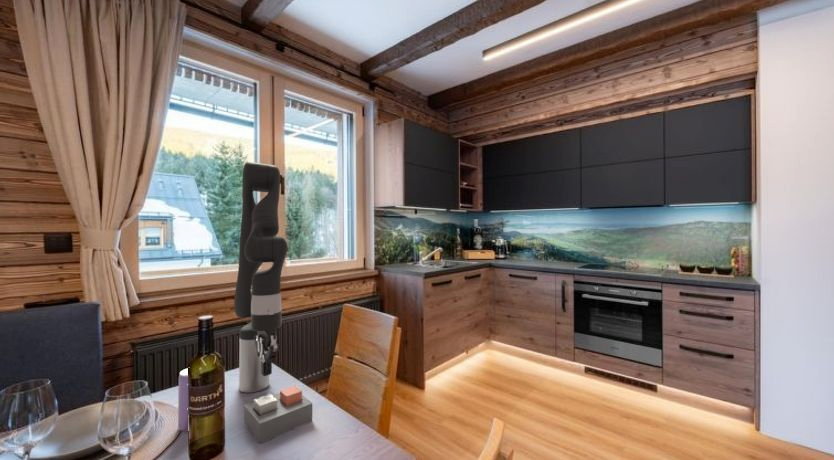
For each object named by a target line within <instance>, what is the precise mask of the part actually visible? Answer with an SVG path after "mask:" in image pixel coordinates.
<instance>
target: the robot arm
mask: <svg viewBox="0 0 834 460" xmlns="http://www.w3.org/2000/svg"><path fill="white" fill-rule="evenodd" d="M241 177H242V178H241V179H242V180H241V183H242V187H241V188H242V192H241V193H242V197H241V198H242V202H241V203H242V205H241V206H242V211H241V224H240V232H239V233H240V234H239V249H238V250H239V252H238V253H239V255H238V269H237V270H238V272H237V279H236V286H235V291H234V297H233V298H234V299H233V301H234V302H233V306H234V307H233V308H234V313H235V316H236V317H237V318H239V319H248V318H250V322H249V323H247V324H246V325H244V326H243V327H241V328H239V356H238V357H239V358H238V359H239V360H238V364H239V365H238V366H239V367H238V368H239V369H238V371H239V375H238V376H239V377H238V390H239V391H240V392H242V393H255V392H260V391H262V390H265V389H266V388H267V387H269V385H270V375H272V372H273V371H272V369H273V367H272V365H273V364H272V363H273V362H272V361H276V359H277V357H278V355H279V352H280V349H281V344H280V343H277V339H278V338H277V333H276V330H277V329H279V328H281V327H282V323H283V321H282V318H283V317H282V310H283V309H282V297H281V295H282V294H281V283H282V281H281V278H282V277H281V276H282V270H283V267H284V263H285V259H286V256H287V254H288V242H287V240H286V239H285V238H284V237H282V236H277V235H278V233H279V231H280V225H279V213H278V212H279V201H280V194H281V193H280V191H281V172H280V168H278V166H276V165H274V164H273V165H272V164H267V163H259V162H253V161H246V163H244V165H243V169H242V176H241ZM254 192H260V193H267V194H266V195H265V196H264V197H263V198H261V199H260V201H257V203H256V200H255V196H254ZM263 263H273V264H272V266H271V267H270V268H269V269H265V270H261V271H258V270H259V269H260V268H261V266H262V265H263Z"/></svg>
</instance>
